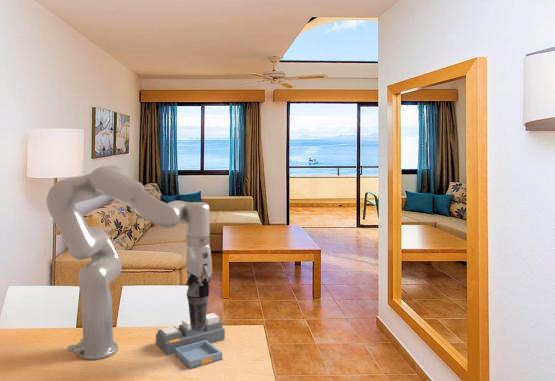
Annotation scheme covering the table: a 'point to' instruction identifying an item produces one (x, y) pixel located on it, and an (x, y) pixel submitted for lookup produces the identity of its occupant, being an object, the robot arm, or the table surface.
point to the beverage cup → (196, 307)
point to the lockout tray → (198, 354)
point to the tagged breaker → (169, 331)
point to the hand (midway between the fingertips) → (198, 293)
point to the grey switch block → (191, 334)
